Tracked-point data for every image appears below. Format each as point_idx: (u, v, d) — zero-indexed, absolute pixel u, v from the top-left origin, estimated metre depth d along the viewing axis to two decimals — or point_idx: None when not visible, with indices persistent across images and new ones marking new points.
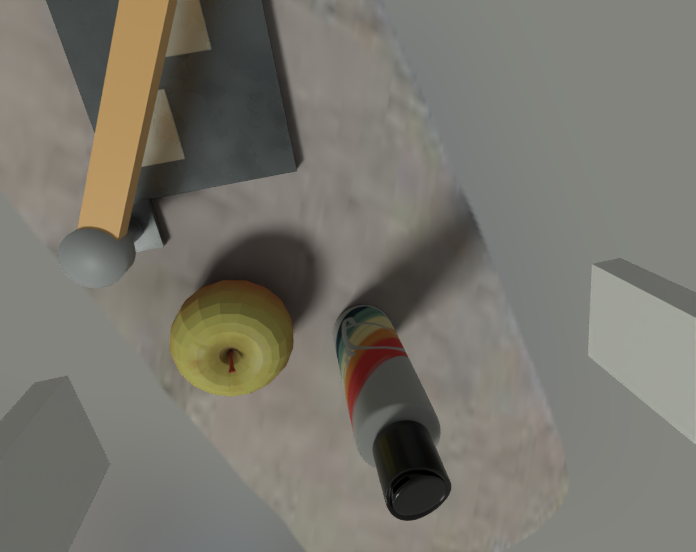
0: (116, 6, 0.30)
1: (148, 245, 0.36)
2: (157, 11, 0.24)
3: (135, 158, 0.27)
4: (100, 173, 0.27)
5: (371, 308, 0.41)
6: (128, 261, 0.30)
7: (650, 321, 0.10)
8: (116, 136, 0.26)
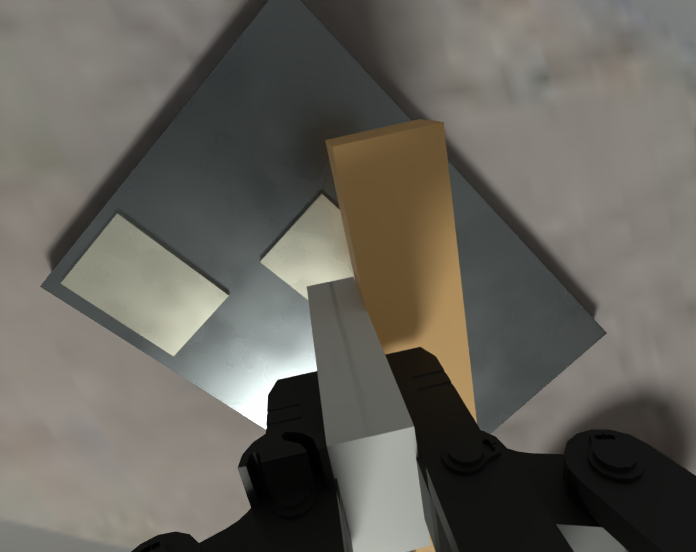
0: (258, 315, 0.18)
1: None
2: (454, 370, 0.12)
3: None
4: None
5: None
6: None
7: None
8: None
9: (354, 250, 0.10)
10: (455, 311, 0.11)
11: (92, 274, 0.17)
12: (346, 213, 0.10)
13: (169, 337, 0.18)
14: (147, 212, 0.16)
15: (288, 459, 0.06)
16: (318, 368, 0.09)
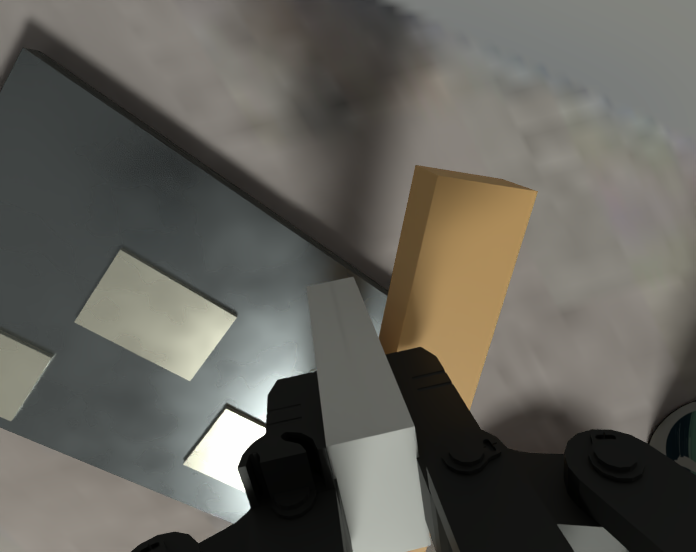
0: (90, 373, 0.18)
1: None
2: None
3: None
4: None
5: None
6: None
7: None
8: None
9: (415, 275, 0.10)
10: (476, 361, 0.12)
11: None
12: (422, 239, 0.10)
13: (1, 404, 0.18)
14: None
15: (287, 459, 0.06)
16: (318, 368, 0.09)
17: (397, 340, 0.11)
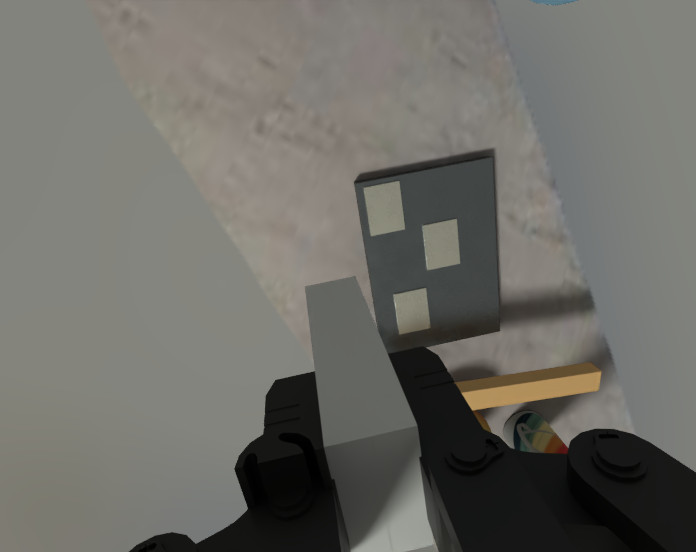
0: (406, 242, 0.46)
1: None
2: (543, 395, 0.47)
3: None
4: None
5: (534, 414, 0.57)
6: None
7: None
8: (476, 399, 0.46)
9: (580, 374, 0.46)
10: (559, 395, 0.47)
11: (374, 192, 0.44)
12: (588, 373, 0.46)
13: (376, 229, 0.45)
14: (406, 186, 0.44)
15: (285, 460, 0.06)
16: (316, 368, 0.09)
17: (563, 376, 0.46)
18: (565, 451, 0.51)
